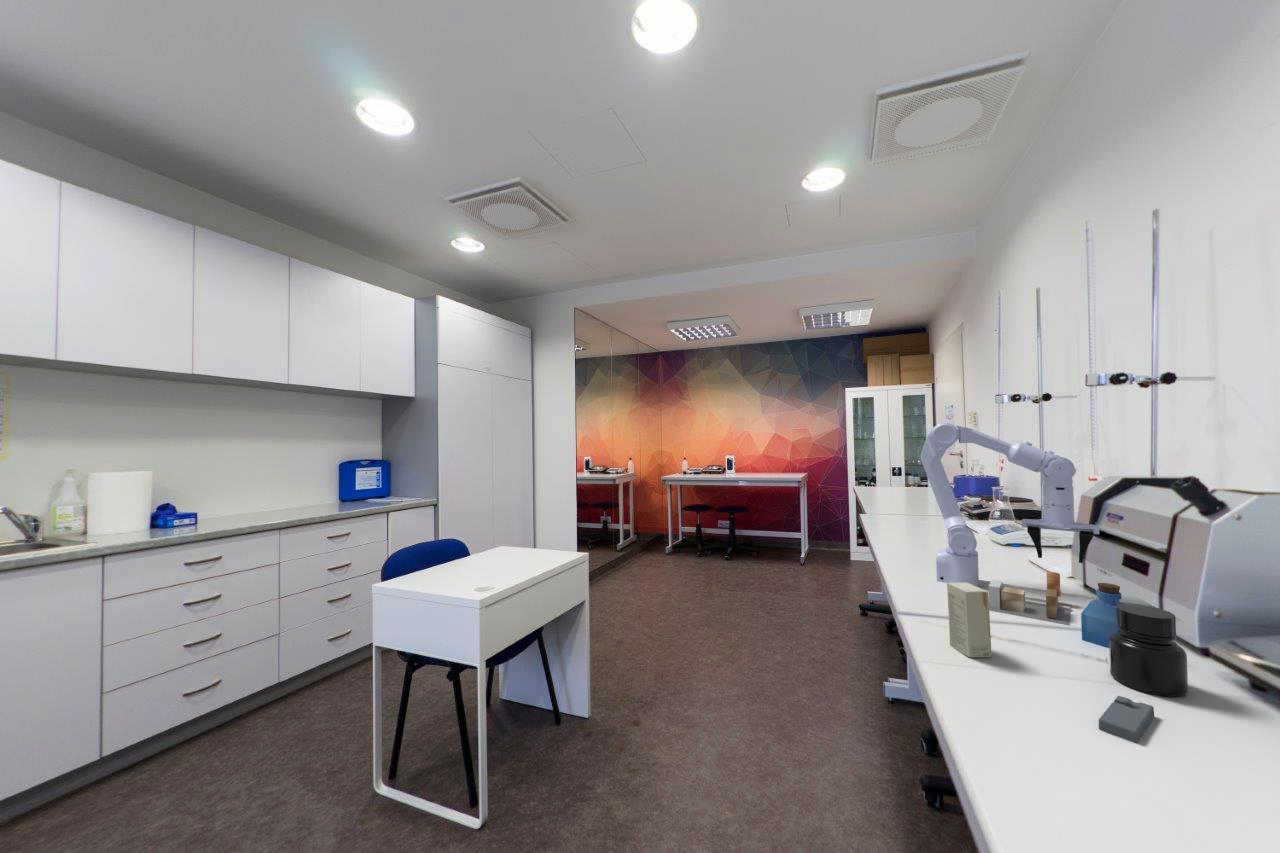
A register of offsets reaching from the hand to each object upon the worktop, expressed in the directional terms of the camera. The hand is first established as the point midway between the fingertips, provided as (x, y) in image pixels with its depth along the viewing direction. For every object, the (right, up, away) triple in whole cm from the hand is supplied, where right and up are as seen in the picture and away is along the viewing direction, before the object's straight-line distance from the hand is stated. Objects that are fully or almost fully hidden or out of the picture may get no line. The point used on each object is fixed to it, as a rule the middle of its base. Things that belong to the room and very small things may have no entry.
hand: (1060, 559), depth 122 cm
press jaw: (-11, -8, -11) cm, 17 cm away
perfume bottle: (-14, -10, -28) cm, 33 cm away
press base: (-14, -10, -9) cm, 19 cm away
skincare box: (-41, -10, -28) cm, 50 cm away
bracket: (-34, -10, -51) cm, 62 cm away
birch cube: (-18, -9, -9) cm, 22 cm away
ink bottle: (-21, -10, -41) cm, 47 cm away
